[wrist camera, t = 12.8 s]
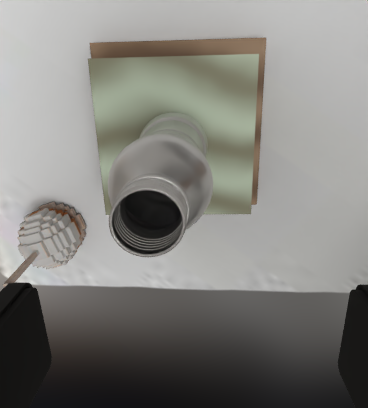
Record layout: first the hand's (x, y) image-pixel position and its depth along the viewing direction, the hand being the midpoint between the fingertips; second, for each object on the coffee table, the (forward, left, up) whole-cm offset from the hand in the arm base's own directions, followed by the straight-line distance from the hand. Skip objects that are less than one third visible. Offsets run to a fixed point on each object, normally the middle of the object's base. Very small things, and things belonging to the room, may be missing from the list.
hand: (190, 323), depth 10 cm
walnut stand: (+1, +2, -36) cm, 36 cm away
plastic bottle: (+1, +2, -26) cm, 26 cm away
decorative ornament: (-13, +20, -36) cm, 44 cm away
